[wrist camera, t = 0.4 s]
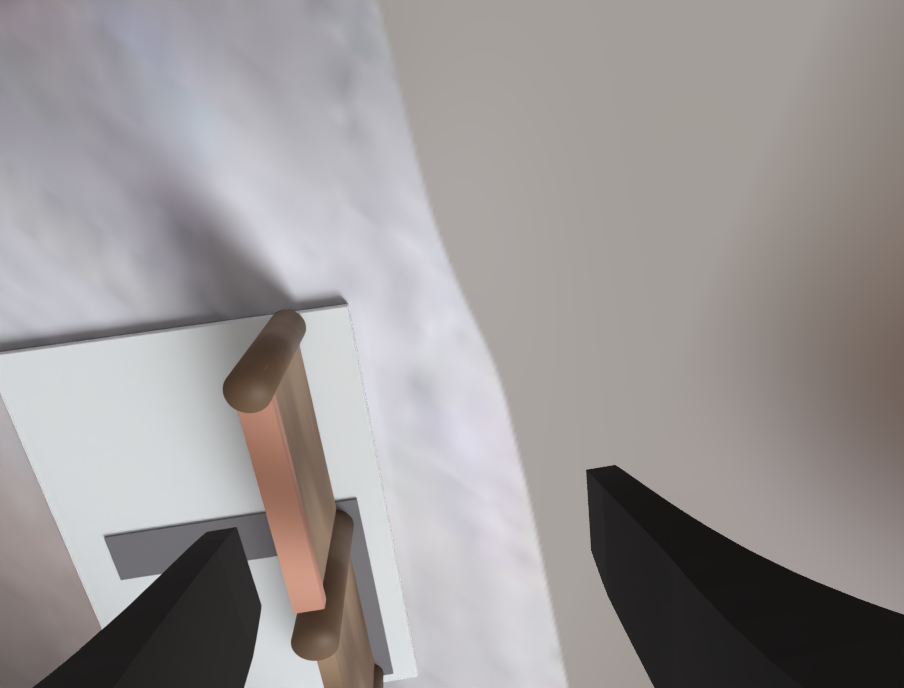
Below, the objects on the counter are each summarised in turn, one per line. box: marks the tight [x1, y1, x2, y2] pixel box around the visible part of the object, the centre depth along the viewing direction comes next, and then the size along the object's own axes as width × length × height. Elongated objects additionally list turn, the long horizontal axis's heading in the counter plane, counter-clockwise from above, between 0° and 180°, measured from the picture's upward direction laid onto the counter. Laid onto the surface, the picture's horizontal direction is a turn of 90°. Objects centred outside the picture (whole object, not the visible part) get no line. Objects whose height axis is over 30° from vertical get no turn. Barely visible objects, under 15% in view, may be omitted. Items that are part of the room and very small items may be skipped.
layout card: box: [0, 304, 418, 688], centre depth 22 cm, size 17×12×1 cm
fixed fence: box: [291, 510, 384, 688], centre depth 21 cm, size 9×1×6 cm, turn 7°
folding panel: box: [223, 310, 336, 614], centre depth 18 cm, size 8×1×5 cm, turn 7°
